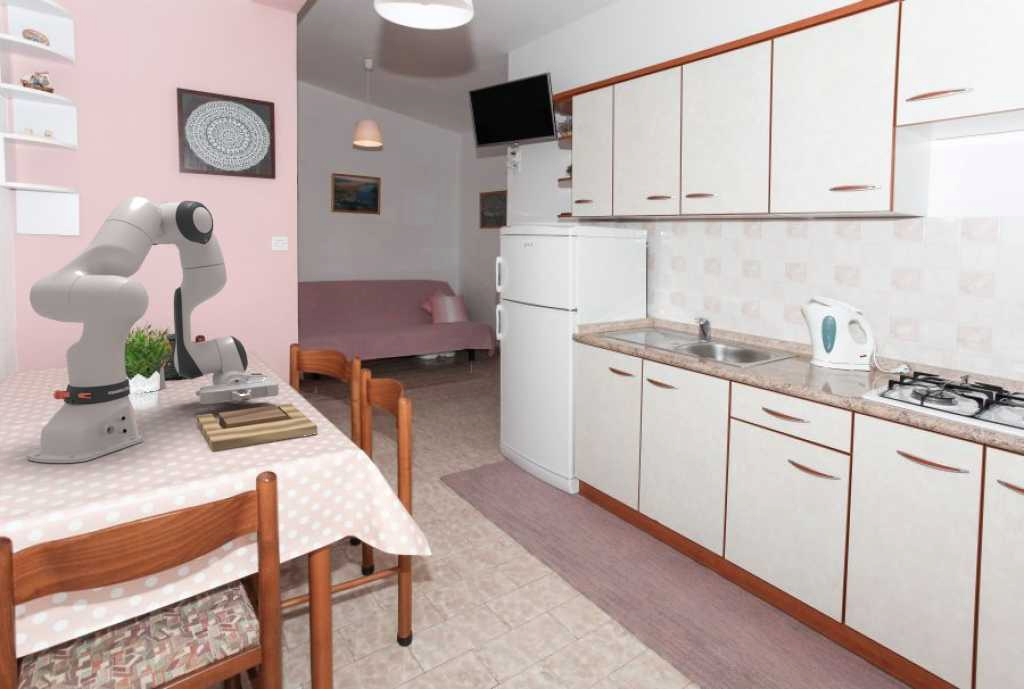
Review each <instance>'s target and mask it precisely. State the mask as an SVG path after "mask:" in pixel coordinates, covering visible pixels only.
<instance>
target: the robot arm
mask: <svg viewBox="0 0 1024 689" xmlns="http://www.w3.org/2000/svg"><path fill="white" fill-rule="evenodd" d="M158 245H175V247H176V248H177V249H178V254H179V260H180V266H181V268H182V279H181V283H180V286H178V287H177V288H176V289H175V290H174V294H173V324H174V327H173V328H174V334H175V354H174V364H175V368H176V370H177V372H178V374H179V375H181V376H183V377H185V378H188V379H187V380H195V379H198V378H202V377H204V376H207V375H211V374H212V385H206V386H201V387H200V388H199V390H197V391H195V396H196V397H199V402H200V404H201V405H210V404H211V405H213V404H219V403H220V404H221V403H226V402H227V403H229V404H234V405H235V404H241V403H243V402H246V401H250V400H253V399H259V398H260V399H261V398H269V397H276V396H278V395H279V394H280V387H279V383H278V382H277V381H276V380H275V379H273V378H272V377H269V376H268V375H267V373H254V372H253V373H250V372H246V371H247V368H248V365H249V363H248V362H249V361H248V355H247V351H246V349H245V347H244V345H243V344H242V342H241V341H240V340H239V339H237V337H235V336H232V335H228V336H222V337H218V338H217V337H216V338H214V339H208V340H205V341H198V342H193V341H192V332H191V331H192V330H191V328H192V327H191V316H192V313H193V311H194V310H195V308H197V307H198V306H199V305H202V304H203V303H204V302H206V301H208V300H209V299H211V298H213V297H215V296H216V295H218V294H219V293H220V292H221V291H222V290H223V289H224V287H225V286H226V283H227V280H228V279H227V278H228V276H227V270H226V269H227V268H226V264H225V260H224V256H223V252H222V249H221V247H220V243H219V242H218V239H217V237H216V234H215V232H214V219H213V215H212V213H211V212H210V210H209V209H208V208H207V206H205V205H204V203H201V202H199V201H195V200H183V201H165V202H164V201H162V202H158V203H154V202H153V201H152V200H150V199H148V198H145V197H142V196H137V195H135V196H129V197H127V198H125V199H124V200H122V201H121V202H120V203H119V204H118V205H117V206H116V207H115V208H114V209H113V210H112V212H111V213H109V215H108V216H107V218H106V219H105V221H104V222H103V224H102V225H101V227H100V228H99V230H98V232H97V233H96V234H95V236H94V238H92V240H91V242H90V243H89V245H88V246H86V248H85V249H84V250H83V251H82V252H80V253H79V254H78V255H77V256H76V257H75V258H73V259H72V260H71V261H69V262H68V263H67V264H66V265H64V266H63V267H61V268H60V269H58V270H57V271H55V272H53V273H51V274H49V275H46V276H44V277H41V278H39V279H38V280H36V281H34V283H33V284H32V286H31V288H30V292H29V303H30V305H31V307H32V309H33V311H34V312H35V313H36V314H37V315H38V316H40V317H42V318H45V319H49V320H52V321H57V322H60V323H76V324H78V323H83V329H82V333H81V336H80V338H79V340H78V341H76V342H74V343H73V344H72V345H71V346H69V347H68V349H66V350H67V351H66V354H65V358H66V366H67V375H68V384H67V387H66V390H59V389H57V390H54V392H53V393H52V394H53V399H55V400H63V402H64V403H63V405H62V406H61V407H60V408H59V409H58V411H57V412H56V413H55V414H54V415H53V416H52V417H51V419H50V420H49V421H48V422H47V423H46V424H45V425H44V426H43V428H42V429H41V432H40V439H39V440H40V447H39V448H37V449H36V450H33V451H32V452H30V453H28V454H27V459H28V460H29V461H32V462H35V463H45V464H48V463H49V464H72V463H73V464H74V463H81V462H87V461H91V460H94V459H95V458H99V457H102V456H104V455H108V454H110V453H113V452H116V451H119V450H122V449H125V448H127V447H130V446H133V445H137V444H140V443H141V442H143V441H144V440H143V439H144V438H143V436H142V435H140V432H139V428H138V422H137V418H136V413H135V411H134V407H133V405H132V403H131V400H130V397H129V395H130V394H131V389H130V388H131V386H130V385H131V384H130V383H129V380H128V379H127V378H128V377H127V370H126V367H125V362H126V357H125V356H126V353H125V352H126V351H125V350H126V343H127V339H128V336H129V334H130V331H131V329H132V327H133V326H134V325H135V323H137V321H138V322H139V320H141V318H143V316H144V315H145V314H146V312H147V310H148V308H149V295H148V291H147V289H146V288H145V286H144V285H143V284H142V283H141V282H140V281H139V280H136V279H132V278H130V277H132V276H133V275H135V274H136V273H137V272H138V271H139V270H140V269H141V267H142V265H143V263H144V262H145V260H146V258H147V256H148V254H149V253H150V250H151V249H152V247H153V246H158Z"/></svg>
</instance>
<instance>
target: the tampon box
mask: <svg viewBox="0 0 1024 689" xmlns="http://www.w3.org/2000/svg"><path fill="white" fill-rule="evenodd" d="M166 334H167V335H166V338H167V339H168V340H169V342H170V345H171V347H172V349H173V351H172V354H171V356H170V358H169V359H168V361H167V363H166V365H165V366H164V378H165V382H166V381H175V380H176V381H180V380H189V379H188V378H185V377H183V376H181V375H179V374H178V372H177V370H176V368H175V364H174V354H175V333H166Z"/></svg>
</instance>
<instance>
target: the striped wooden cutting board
mask: <svg viewBox="0 0 1024 689" xmlns="http://www.w3.org/2000/svg"><path fill="white" fill-rule="evenodd" d="M277 408H278V409H280V410H281V411H282V412H283V413H284V414H286V416H287V420H283V421H276V422H269V423H262V424H255V425H248V426H241V427H234V428H227V429H223V428H222V426H221V425H220V424H219V421H217V419H216V418H215V416H214V414H213V413H208V414H207V413H206V414H199V415H196V421H197V426H198V427H199V429H200V431H201V433H202V434H203V437H204V438H205V440H206V442H207V443H208V446H209V447H210V449H211V451H212V452H216V451H222V450H229V449H235V448H241V447H247V446H252V445H260V444H266V443H272V442H271V441H273V442H278V441H277V440H279V441H283V440H282V439H285V440H288V439H287V438H291V439H294V438H293V437H298V438H300V437H299V436H304V435H309V434H314V433H317V434H318V425H317V424H316V423H315V422H313V421H312V420H311V419H310V418H308V417H307V416H306V415H305V414H304V413H303V412H302V411H300V410H299V409H298V408H297V407H296V406H294V405H293V404H292V403H291V402H290V403H284V404H277ZM304 437H305V436H304Z"/></svg>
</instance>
